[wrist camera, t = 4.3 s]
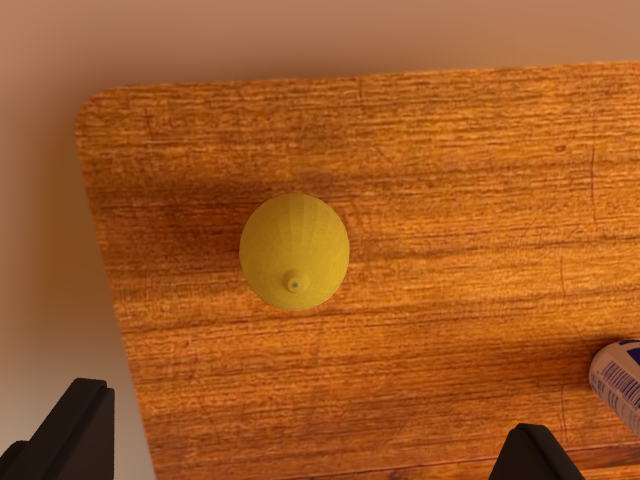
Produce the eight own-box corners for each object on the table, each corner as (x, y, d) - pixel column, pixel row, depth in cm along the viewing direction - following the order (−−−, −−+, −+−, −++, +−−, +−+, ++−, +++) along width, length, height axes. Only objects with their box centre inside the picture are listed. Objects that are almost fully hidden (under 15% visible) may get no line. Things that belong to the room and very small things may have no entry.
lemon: (293, 158, 23) (295, 194, 16) (358, 223, 25) (387, 284, 18) (227, 224, 24) (200, 287, 17) (294, 282, 26) (296, 362, 19)
